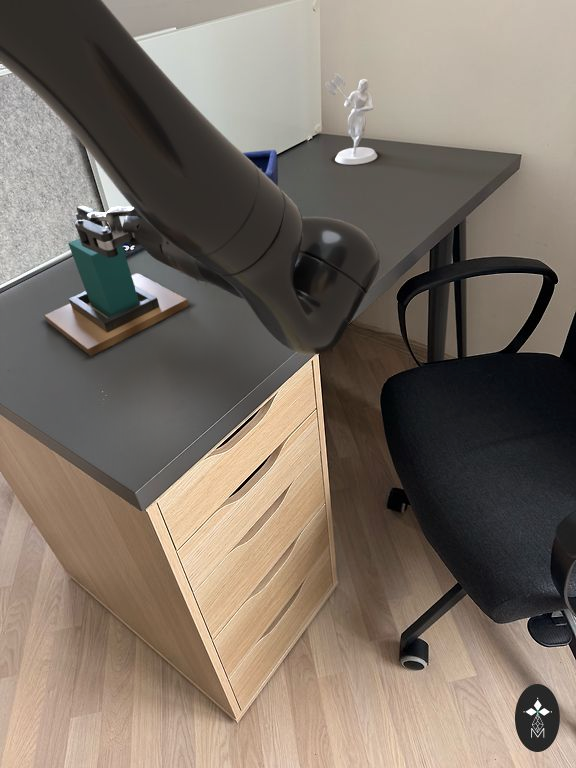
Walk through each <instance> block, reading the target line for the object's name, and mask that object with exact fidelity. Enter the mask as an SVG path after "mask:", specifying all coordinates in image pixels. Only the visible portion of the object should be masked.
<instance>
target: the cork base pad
mask: <svg viewBox="0 0 576 768" xmlns="http://www.w3.org/2000/svg"><path fill="white" fill-rule="evenodd" d="M131 276H132V279H133V282H134V286H135V289H136V292H137V295H138V299H139V302H140V303H138V304H135V305H133V306H131V307H129V308H127V309H125V310H123V311H121V312H119V313H117V314H115V315H113V316H111V317H107V316H106V315H104V314H103V313H101V312H100V311H98V310H97V309H95V308H94V307H92V306H91V303H90V301H89V298H88V295H87V293H86V290H84V291H83V292H80V293H79V294H76V295H74V296H72V297H69V298H68V301H69V303H68V304H66V305H64V306H61V307H59V308H57V309H55V310H52V311H50V312H48V313H46V314H44V315H43V316H44V318H45V320H46V323H48V324H49V325H50V326H52V328H54V329H55V330H57V331H58V332H59V333H60V334H62V335H63V336H64V337H65V338H67V339H68V340H69V341H70V342H72V343H73V344H74V345H75V346H77V347H78V348H79V349H81V350H82V351H83V352H84V353H86V354H87V355H88V356H89V357H93V356H95V355H96V354H98V353H100V352H103V351H104V350H106V349H108V348H110V347H112V346H115V345H116V344H118V343H120V342H122V341H124V340H126V339H128V338H130V337H132V336H133V335H136V334H137V333H140V332H142V331H143V330H145V329H147V328H149V327H151V326H153V325H156V324H157V323H159V322H161V321H163V320H165V319H168V318H169V317H171V316H173V315H175V314H176V313H178V312H181V311H182V310H185V309H186V308H188V307H189V302H188V299H187V298H185V297H184V296H183V295H180V294H178V293H176V292H174V291H172V290H170V289H169V288H167V287H165V286H163V285H161V284H159V283H158V282H156V281H154V280H152V279H150V278H148V277H146V276H144V275H142V274H140V273H139V272H137V273H134V274H131Z"/></svg>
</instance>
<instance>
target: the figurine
mask: <svg viewBox="0 0 576 768" xmlns="http://www.w3.org/2000/svg"><path fill="white" fill-rule="evenodd" d="M332 76H333V78H334V79H333V80H331V83H330V82H329V80H327V81H325V83H324V84H325V88H326V90H327V91H328V92H329V93H330V94H331V95H332V96H336V95H337V94H338V91H339V92H340V94H341V95H342V96H343V97H344V98H345V101H344V104H343V106H344V108H349V107H350V106H351V107H352V109H351V111H350V114H349V115H348V117H347V134H348V135H350V137H351V139H352V140H353V147H349V148H346V149H343V150H340V151H339V152H337V154H336V156H335V158H334V161H335V162H336V163H338V164H341V165H351V166H352V165H361V164H362V165H363V164H367V163H370V162H373V161H374V160H376V159H377V158H378V154H377V153H376V150H374V149H373V148H370V147H366V146H365V147H364V146H359V144H360V142H361V140H362V138H363V137H364V136H366V126H367V125H366V121H367V120H366V116H365V113H366V112H370V111H372V110H373V109H374V103H373V102H374V101H373V97H372V94H371V92H368V89H369V80H368V79H367V78H362V79H360V80H359V83H358V87H357V88H356V89H357V90H353V91H352V92H351V93H350V95H349V96H346V94H345V93H344V92H343V91H342V89H341V88H343V87H344V86H345V85H346V81H345V80H344V78H343V77H342V76H341V75H340V74H339V73H337V72H334V74H333V75H332ZM340 85H341V88H340V87H339V86H340ZM336 89H337V90H338V91H336ZM352 102H353V103H352ZM365 105H366V106H365ZM358 146H359V147H358Z"/></svg>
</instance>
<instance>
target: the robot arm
mask: <svg viewBox="0 0 576 768" xmlns="http://www.w3.org/2000/svg"><path fill="white" fill-rule="evenodd" d="M0 64H1V65H2V66H3V67H4V68H6V69H7V70H8V71H9V72H10V73H12V74H13V75H14V76H16V77H17V78H18V79H19V80H20V81H22V83H24V84H25V85H26V86H27V87H28V88H29V89H30V90H31V91H33V92H34V93H35V94H36V95H37V96H38V97H39V98H40V99H41V100H42V101H43V102H44V103H45V104H46V106H48V107H49V108H50V110H51V111H53V112H54V113H55V115H56V116H58V118H59V119H60V120H61V121H62V122H63V123H64V124H65V125H66V127H68V128H69V130H71V132H72V133H73V135H74V136H75V137H76V138H77V140H79V142H80V143H81V145H82V146H83V147H84V148H85V149H86V151H88V153H89V154H90V156H91V157H92V158H93V160H94V161H95V162H96V163H97V165H98V166H99V167H100V169H101V170H102V171H103V173H104V174H105V175H106V176H107V177H108V179H109V180H110V181H111V183H112V184H113V185H114V187H115V188H116V189H117V190H118V191H119V192H120V194H121V195H122V196H123V198H125V200H126V201H127V203H129V204H130V206H115V207H111V208H110V209H109V210H108V211H107V212H98V211H97V210H95V209H92V208H90V207H89V206H85V205H79V206H77V207H76V212H74V213H75V214H74V215H75V217H76V221H74V227H75V229H76V232H77V234H78V237H79V238H80V240H81V244H82V246H83V247H85V248H88V249H90V250H92V251H94V252H97V253H99V254H101V255H103V256H106V257H108V258H111V257H115V256H117V255H118V251H117V247H118V246H121V245H122V246H123V245H125V244H128V245H131V246H139V247H140V246H141V247H142V248H143V249H144V250H145V251H146V252H147V253H148V254H149V256H151V258H153V259H154V260H156V261H157V262H160V263H161V264H164V265H165V266H167V267H170V268H172V269H174V270H176V271H178V272H179V273H182V274H184V275H186V276H188V277H190V278H192V279H194V280H196V281H200V282H203V283H208V284H210V285H213V286H214V287H217V288H219V289H220V290H222V291H225V292H226V293H228V294H231V295H232V296H235V297H237V298H239V299H242V300H244V301H245V302H246V303H247V305H248V306H249V307H250V309H251V310H252V312H253V313H254V314H255V316H256V318H257V319H258V320H259V322H260V323H261V324H262V326H263V327H264V328H265V329H266V330H267V332H268V333H270V334H271V336H272V337H273V338H274V339H276V341H278V342H279V343H280V344H281V345H282V346H284V347H286V348H287V349H289V350H291V351H293V352H295V353H297V354H302V355H306V356H315V355H322V354H325V353H327V352H329V351H331V350H332V349H334V348H335V347H336V346H337V345H338V343H340V341H341V340H342V338H343V337H344V335H345V333H346V331H347V330H348V327H349V325H350V324H351V322H352V320H353V319H354V317H355V315H356V313H357V311H358V310H359V307H360V306H361V304H362V303H363V301H364V299H365V296H366V294H367V293H368V292H369V290H370V288H371V287H372V285H373V282H374V281H375V278H376V277H377V274H378V272H379V270H380V263H381V260H380V254H379V251H378V248H377V246H376V244H375V242H374V241H373V240H372V239H371V237H370V236H369V235H368V234H367V233H366V232H365V231H364V230H362V229H361V228H359V227H358V226H357V225H354V224H352V223H350V222H347V221H346V220H345V221H344V220H341V219H338V218H332V217H326V216H302V213H301V211H300V209H299V207H298V206H297V204H296V203H295V202H294V200H292V198H291V197H290V196H289V195H288V194H287V193H286V192H285V191H283V189H282V188H280V187H279V186H277V185H276V184H275V183H274V182H273V181H272V180H271V179H270V178H269V177H267V176H266V175H265V174H264V173H263V172H262V169H261V168H258V167H257V166H256V165H255V164H254V163H253V162H252V161H251V160H249V159H248V158H247V157H246V156H245V155H244V154H243V153H244V152H242V151H241V150H240V149H239V148H238V147H236V146H235V144H233V142H231V141H230V140H229V139H228V138H227V137H226V136H225V135H224V134H223V133H222V132H221V131H220V130H219V129H218V128H217V127H216V126H215V125H214V124H213V123H212V122H210V120H209V119H208V118H207V117H206V116H205V115H204V114H203V112H201V111H200V110H199V109H198V108H197V107H196V105H194V104H193V102H191V101H190V100H189V99H188V97H187V96H186V95H185V94H184V93H183V92H182V91H181V90H180V89H179V87H178V86H177V85H176V84H174V82H173V81H172V80H171V79H170V78H169V77H168V76H167V74H166V73H164V71H163V70H162V69H161V68H160V67H159V65H158V64H157V63H156V62H155V61H154V60H153V59H152V57H150V55H149V54H148V53H147V51H145V50H144V49H143V47H142V46H141V45H140V44H139V42H138V41H136V39H135V37H133V36H132V35H131V33H130V32H129V31H128V30H127V29H126V27H125V26H124V25H123V23H122V22H120V20H119V19H118V18H117V17H116V15H115V14H114V13H113V12H112V11H111V9H110V8H109V7H108V5H107V4H106V3H105V2H104V1H103V0H0ZM121 217H124V219H123V223H122V221H121ZM103 222H107V223H108V225H109V226H108V225H106V226H105V227H104V224H103Z"/></svg>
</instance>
